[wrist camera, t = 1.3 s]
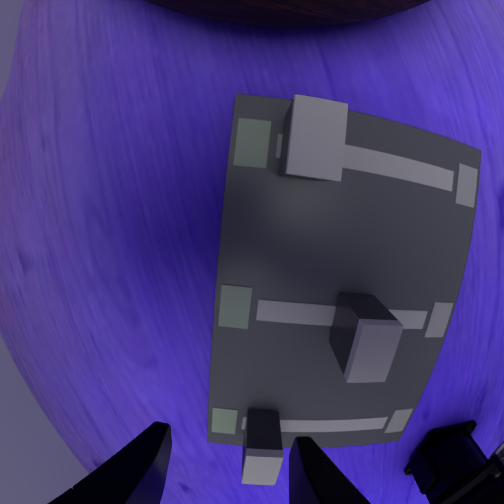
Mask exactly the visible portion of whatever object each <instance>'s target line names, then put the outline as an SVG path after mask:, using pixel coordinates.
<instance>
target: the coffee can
mask: <svg viewBox="0 0 504 504" xmlns="http://www.w3.org/2000/svg"><path fill="white" fill-rule="evenodd" d="M494 453H496V454H497V455H498V456H499V457H500V458H501V459H502V460H503V461H504V442H503V443H502V444H501V445H500V446H499V448H498V449H497V450H496V451H495V452H494ZM494 453H493V454H494ZM490 458H491V457H490ZM500 474H501V472H500V473H499V474H497V475H496V476H495V477H498V476H499V475H500Z"/></svg>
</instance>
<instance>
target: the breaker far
mask: <svg viewBox="0 0 504 504" xmlns="http://www.w3.org/2000/svg"><path fill="white" fill-rule="evenodd" d="M282 461H283V447H282V437H281V427H280V417H279V412H268V411H253V410H247V417H246V424H245V430H244V437H243V455H242V481H241V484H257V485H275V483H276V480H277V477H278V474H279V471H280V467H281V464H282Z"/></svg>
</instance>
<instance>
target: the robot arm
mask: <svg viewBox="0 0 504 504" xmlns="http://www.w3.org/2000/svg"><path fill="white" fill-rule="evenodd" d="M476 425H477V423H476V422H475V421H470V422H466V423H462V424H458V425H454V426H450V427H445V428H440V429H435V430H432V431H430V432H429V433H428V434H427V436H426V437H425V439H424V441H423V442H422V444H421V446H420V447H419V449H418V450H417V452H416V454H415V455H414V457H413V458H412V460H411V461H410V463H409V464H408V466H407V467H406V469H405V470H404V473H405V475H410V474H413V476H414V479H415V481H416V483H417V485H418V487H419V489H420V492H421V493H422V494H425V495H426V497H427V499H428V501H429V503H430V504H504V461H503V460H502V459H501V458H500V457H499V456H498V455H497V454H496V453H494V454H493V455H492V456H491V458H490V459H489V460H488V459H487V457H486V456H485V455H484V453H483V452H482V450H481V449H480V447H479V446H478V445H477V443H476V442H475V441H474V439H473V438H472V436H471V433H472V432H473V430H474V429H475V427H476ZM171 448H172V438H171V427H170V425H169V424H168V423H163V422H158V421H156V422H154V423H153V424H151V425H150V426H149V427H148V428H147V429H145V430H144V431H143V432H142V433H141V434H139V435H138V436H137V437H136V438H134V439H133V440H132V441H131V442H130V443H128V444H127V445H126V446H125V447H123V448H122V449H121V450H120V451H118V452H117V453H116V454H115V455H113V456H112V457H111V458H110V459H108V460H107V461H106V462H104V463H103V464H102V465H101V466H99V467H98V468H97V469H95V470H94V471H93V472H91V473H90V474H89V475H88V476H86V477H85V478H84V479H82V480H81V481H80V482H78V483H77V484H75V485H74V486H73V489H72V488H70V489H69V490H67V491H66V492H64V493H63V494H62V495H60V496H59V497H57V498H55V499H54V500H52V501H51V502H49V503H48V504H160V501H161V498H162V495H163V491H164V486H165V481H166V475H167V470H168V464H169V459H170V454H171ZM500 472H501V474H500V475H499V476H498V477H495V476H496V475H497V474H499V473H500ZM289 504H371V503H370V502H369V501H368V500H367V499H366V498H365V497H364V496H363V495H362V494H361V493H360V492H359V490H358V489H357V488H356V487H355V486H354V485H353V484H352V483H351V482H350V481H349V480H348V479H347V477H346V476H345V475H344V474H343V473H342V472H341V471H340V470H339V469H338V467H337V466H336V465H335V464H334V463H333V462H332V461H331V460H330V458H329V457H328V456H327V455H326V454H325V453H324V452H323V450H322V449H321V448H320V447H319V446H318V445H317V443H316V442H315V441H314V440H313V439H312V438H311V437H310V436H297V437H295V439H294V441H293V445H292V448H291V451H290V455H289Z"/></svg>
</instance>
